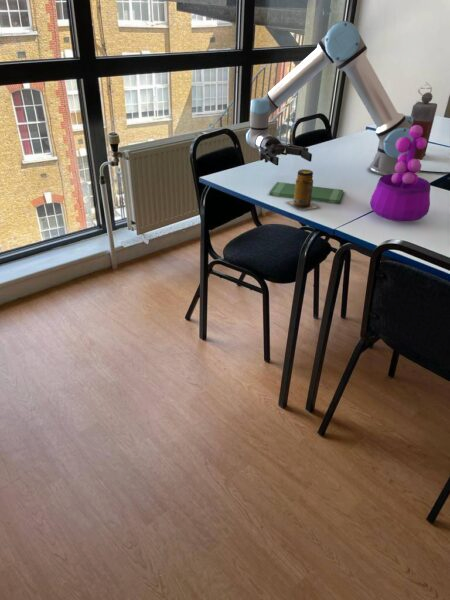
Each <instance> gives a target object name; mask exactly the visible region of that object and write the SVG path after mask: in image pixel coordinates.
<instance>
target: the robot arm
mask: <svg viewBox="0 0 450 600" xmlns="http://www.w3.org/2000/svg"><path fill="white" fill-rule="evenodd" d="M367 53H368V47H367V45H366V43H365V41H364V39H363V38H362V36H361V34H360V32H359V30H358V28H357V26H356V25H355V24H354V23H353V22H351V21H349V20H340V21H337V22H335V23H334V24H333V25H332V26H330V27H329V29H328V31H327V33H326V34H325V35H324V37H322V39H320V40H319V42H318V43H317V46H316V48H315V49H314V50H313V51H311V53H309V54H308V55H307V56H306V57H305V58H303V60H302V61H300V63H298V64H297V65H296V66H295V67H294V68H293V69H291V71H290V72H289V73H288V74H286V75H285V76H284V77H283V78H282V79H281V80H280V81H279V82H278V83H277V84H275V86H273V87H272V88H271V89H270V90H269V91H268V92H267V93H266V94H265V95H264V96H263V97H256V98H252V99H251V100H250V107H249V111H250V112H249V113H250V114H249V115H250V117H249V129H248V131H246V134H245V140H246V141H245V142H246V143H247V144H248V145H249V146H250V147H251V148H253V149H254V150H257V151H258V154H259V161H263V160H264V163H269V162H270V163H272V164H273V165H274V166H279V160H280V157H278V156H281V155H282V156H288V155H292V156H299V157H300V158H302V159H304V160H305V161H307V162H312V158H313V153H311V152H309V148H308V147H305V146H300V145H299V146H298V145H295V144H292V143H287V144H283V143H281V141H280V139H279V138H277V137H275V136H273V135H271V134H270V133H269V121H270V117H271V115H272V114H273V113H275V112H276V111H277V110H278V109H279V108H280V107H281V106H282V105H284V104H285V103H286V102H287V101H288V100H289V99H290V98H291V97H293V96H294V95H295V94H296V93H297V92H299V91H300V89H302V88H303V87H304V86H305V85H306V84H308V83H309V82H310V81H311V80H312V79H313V78H314V77H315V76H317V74H320V72H321V71H322V70H323V69H325V68H326V67H328V65H333V64H335V66H336V68H337V70H338V71H339V72H340V71H341V72H344V73H345V74H346V76H347V78H348V79H349V81H350V83H351V85H352V87H353V88H354V90H355V92H356V93H357V95H358V97H359V98H360V100H361V102H362V104H363V105H364V107H365V110H366V111H367V112H368V114H369V116H370V118H371V119H372V121H373V123H374V125H375V126H376V128H375V131H374V133H375V135H376V137H377V138H378V145H377V150H376V153H375V155H374V157H373V158H372V160H371V163H370V165H369V171H370V172H371V173H373V174H375V175H378V176H384V175H388V174H396V173H397V172H396V171H395V166H396V164H397V162H398V157H399V155H400V154H402V153H401V152H399V151H398V150H397V149H396V142H397V140H398V139H399V138H402V137H408V138H410V140H411V143H412V141H413V138H412V137H411V136H410V134H409V130H410V129H411V128H412V124H413V117H412V116H411V115H405V114H404V113H400V112H398V111H397V109H396V107H395V106H394V103H393V101H392V100H391V98H390V97H389V95H388V93H387V91H386V89H385V87H384V86H383V83H382V82H381V80H380V78H379V77H378V74H377V73H376V71H375V69H374V68H373V66H372V64H371V62H370V59H368V56H367ZM404 153H407V154H408V151H407V152H404ZM417 173H427V174H439V175H440V174H441V175H448V174H449V175H450V171H434V170H423V169H420V171H418V172H417ZM401 174H403V173H401Z"/></svg>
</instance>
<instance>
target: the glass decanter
mask: <svg viewBox="0 0 450 600" xmlns="http://www.w3.org/2000/svg"><path fill="white" fill-rule="evenodd" d="M422 95H423V96H422ZM422 95H421V99H422V100H421V101H418V102H417V103H416V102H415V103H416V104H415V103H414V104H413V105H412V108H411V114H410V116H412V117H413V124H412V127H413V126H414V125H419V126H421V127H422V129H423V130H422V131H423V133H422V135H421V136H420V137H421V138H425V139H426V141H427V144H426V146H425V147H424V148H423V149H417V148H416V146H415V154H414V159H417V160H419V161H422V160H423V159H424V157H425V156H426V154H427V149H428V145H429V141H430V136H431V132H432V129H433V124H434V122H435V121H434V120H435V117H436V112H437V108H438V103H436V102H431V101H433V98H434V96H433V93H432V92H431V93H430V91H427V92H425V93H423V94H422ZM420 137H418V138H420ZM418 138H416V140H417V139H418Z"/></svg>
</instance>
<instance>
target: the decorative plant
mask: <svg viewBox="0 0 450 600" xmlns="http://www.w3.org/2000/svg"><path fill="white" fill-rule="evenodd" d="M422 130H423V129H422V127H421V126H419V125H414V126H413V127H412V128H411V129H410V130H409V134H410V136H411V137H412V138H413V141H412V143H411V140H410V138H408V137H402V138H399V139H398V140H397V142H396V149H397V150H398V151H399V152H401V153H402V154H400V155H399V157H398V162H397V164H396V166H395V171H396V172H397V173H396V174H388V175H384V176H383V175H381V177H379V179H378V180H377V184H376V187H375V189H374V190H373V193H372V194H371V197H370V201H369V206H370V208H371V209H372V211H373V212H374V213H375V215H377V216H379V217H381V218H383V219H386V220H389V221H394V222H399V223H401V222H403V223H405V222H415V221H419V220H421V219H423V218H424V217H425V216H427V215H428V213H429V212H430V206H431V183H430V181H428V180H427V179H425V178H423V177H421V176H418V173H419V172H418V171H420V170H422V163H421V160H418V159H414V154H415V146H416V148H417V149H423V148H424V147H425V146H426V144H427V141H426V139H425V138H421V137H420V136H421V135H422V133H423V131H422ZM418 137H420V138H418ZM416 138H418V139H417V140H416ZM407 151H408V154H407V153H404V152H407ZM401 173H403V174H401Z"/></svg>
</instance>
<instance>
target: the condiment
mask: <svg viewBox="0 0 450 600" xmlns="http://www.w3.org/2000/svg"><path fill="white" fill-rule="evenodd" d="M294 184H295V194H294V198H293V201H288V204H290V205H291V206H293V207H295V208H297V209H299V210H300V211H305V210H313V209H317V208H318V206H317V205H315V204H314V203H312V200H311V195H312V188H313V186H314V171H312V170H310V169H303V168H302V169H299V170H298V171H297V175H296V179H295V183H294Z"/></svg>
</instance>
